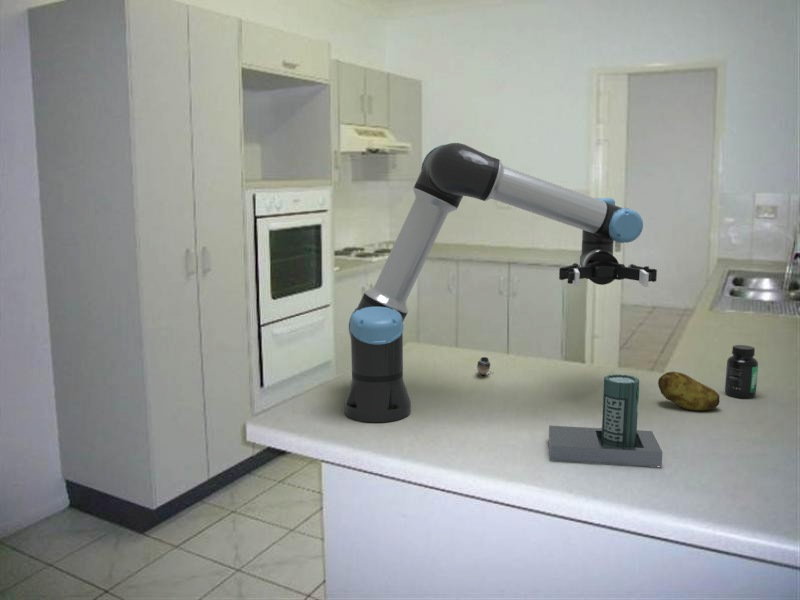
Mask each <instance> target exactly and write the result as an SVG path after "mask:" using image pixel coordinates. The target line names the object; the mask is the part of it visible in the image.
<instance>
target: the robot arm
mask: <svg viewBox="0 0 800 600" xmlns="http://www.w3.org/2000/svg"><path fill="white" fill-rule="evenodd" d="M412 189H413V193H414V196H415V198H414V200H413V203H412V205H411V207H410V209H409V211H408V213H407V215H406V218H405V220H404V222H403V224H402V226H401V229H400V231H399V233H398V235H397V237H396V239H395V241H394V244H393V245H392V247H391V249H390V253H389V254H388V256H387V259H386V260H385V262H384V265H383V267H382V269H381V271H380V274H379V275H378V278H377V280H376V282H375V285H374V287H372V288H370V289H366V290H365V291H364V293H363V295H362V297H361V299H360V301H359V303H358V306H357V307H356V308H355V309H354V310H353V311H352V312H351V313H352V314H351V315H350V317H349V320H348V333H349V337H350V347H351V348H350V350H351V380H350V381H351V382H350V385H349V388H348V391H347V395H346V397H345V398H346V399H345V402H344V414H345V415H346V416H347V417H348V418H350V419H352V420H355V421H358V422H364V423H388V422H394V421H399V420H401V419H404V418H406V417H408V416H409V415H410V414H411V412H412V404H411V403H412V402H411V399H410V396H409V393H408V390H407V387H406V384H405V381H404V356H403V355H404V354H403V353H404V351H403V349H404V348H403V347H404V345H403V344H404V343H403V342H404V341H403V339H404V338H403V334H404V333H403V332H404V321H405V319H406V317H407V315H408V312H409V309H408V307H407V304H406V303H407V300H408V298H409V297H410V294H411V292H412V290H413V287H414V285H415V283H416V281H417V279H418V277H419V275H420V273H421V270H422V269H423V267H424V264H425V262H426V261H427V258H428V256H429V254H430V252H431V250H432V247H433V245H434V243H435V241H436V239H437V237H438V236H439V233H440V231H441V229H442V226H443V225H444V222H445V220H446V219H447V216H448V215H449V213H451V212H455V211H457V210H458V207H459V205H460V203H461V201H462V199H463V197H469V198H474V199H476V200H480V201H484V202H487V201H489V200H494V201H497V202H500V203H503V204H506V205H509V206H511V207H515V208H516V209H517V208H518V209H519V210H520V209H521V210H523V211H527V212H529V213H532V214H536V215H538V216H541V217H544V218H547V219H550V220H552V221H556V222H559V223H562V224H565V225H567V226H569V227H574V228H576V229H579V230H581V232H582V233H581V235H582V236H581V237H582V238H581V239H582V240H581V253H580V256H579V264H578V263H577V262H574V263H573V264H571V265H567V266H562V267H560V268H558V269H559V274H558V279H559V280H561V281H564V280H567V284H573V283H574V285H575V286H580V280H583V279H585V280H590V282H592V283H594V284H596V285H600V286H604V285H608V284H610V283H612V282H613V281H615V280H617V281H621V280H624V279H625V280H632V281H636V282H637V281H638V282H639V283H638V284H641V285H642V286H643V287H644V288H648V287H649V282H652V283H655V282H657V275H658V269H655V268H651V267H650V266H649V265H648V266H647V265H646V266H639V265H636V264H633V263H631V264H628V266H626V265H625V264H624V263H623V264H622V263H619V261H618V259H617V258H616V257H615V256H614V242H617V243H620V244H624V243H626V244H627V243H630V242H631V243H632V242H633V241H635V240H637V239H638V238H639V237H640V235H641V234H642V231H643V229H644V223H643V218H642V216H641V214H639V213H638V212H637V211H635V210H634V209H631V208H628V207H621V206H618V205H616V201H615V199H614V198H611V197H610V198H609V197H592V196H589V195H586V194H584V193H581V192H578V191H576V190H572V189H570V188H567V187H563V186H561V185H558V184H555V183H553V182H550V181H547V180H544V179H542V178H539V177H536V176H533V175H530V174H527V173H524V172H521V171H519V170H515V169H513V168H509V167H507V166H504V165H503V163H502V160H501V159H499V158H496V157H493V156H490V155H488V154H485V153H483V152H481V151H479V150H478V149H475V148H473V147H471V146H469V145H467V144H464V143H461V142H451V143H447V144H441V145H438V146H436V147H434V148H433V149H432V150H430V151H429V152H428V153H427V154H426V155H425V157H424V159H423V161H422V164H421V169H420V172H419V175H418V177H417V180H416V181H415V184H414V186H413V188H412Z"/></svg>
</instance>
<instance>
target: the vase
mask: <svg viewBox="0 0 800 600" xmlns="http://www.w3.org/2000/svg"><path fill="white" fill-rule="evenodd" d="M489 361H490V359H489V357H485V356H484V357H480V358H479V360H478V361H477V366H476V371H475V372H474V375H475V376H478V375H487V376H490V375H493V374H494V372H493V371H491V370H490V368H491V362H489ZM476 374H478V375H476ZM488 374H489V375H488Z"/></svg>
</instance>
